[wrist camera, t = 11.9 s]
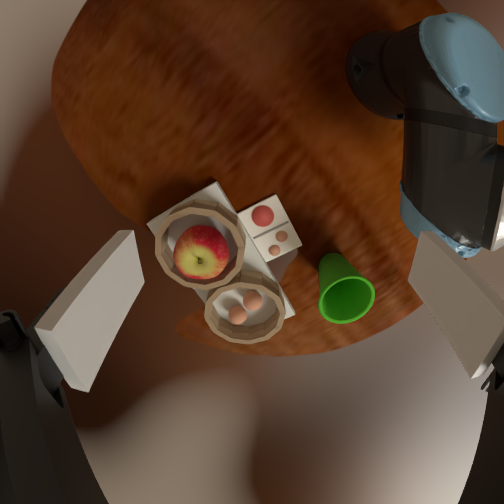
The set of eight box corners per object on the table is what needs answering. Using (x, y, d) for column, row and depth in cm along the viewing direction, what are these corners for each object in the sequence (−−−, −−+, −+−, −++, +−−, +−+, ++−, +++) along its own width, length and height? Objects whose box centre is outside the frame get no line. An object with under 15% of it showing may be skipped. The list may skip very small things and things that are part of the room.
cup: (303, 284, 52) (313, 323, 42) (312, 239, 48) (325, 274, 38) (348, 286, 52) (365, 324, 42) (360, 243, 48) (382, 277, 38)
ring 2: (238, 255, 48) (237, 267, 44) (298, 298, 52) (301, 311, 48) (194, 304, 53) (190, 318, 50) (250, 339, 57) (250, 353, 53)
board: (148, 221, 46) (146, 224, 45) (216, 180, 43) (215, 182, 42) (233, 334, 58) (233, 338, 57) (294, 310, 55) (295, 314, 54)
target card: (237, 213, 46) (237, 214, 45) (275, 193, 44) (276, 194, 44) (265, 261, 50) (265, 262, 49) (302, 244, 48) (302, 245, 48)
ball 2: (251, 283, 51) (251, 295, 47) (266, 294, 52) (266, 305, 48) (239, 295, 52) (238, 307, 49) (254, 305, 53) (253, 317, 50)
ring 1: (192, 182, 42) (186, 189, 39) (262, 235, 46) (262, 246, 43) (148, 245, 47) (140, 256, 44) (212, 289, 51) (209, 302, 48)
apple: (241, 235, 46) (237, 267, 37) (212, 270, 49) (203, 306, 41) (199, 206, 44) (185, 231, 35) (173, 244, 47) (155, 275, 38)
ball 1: (236, 298, 52) (235, 310, 49) (251, 308, 53) (250, 320, 50) (225, 309, 53) (223, 321, 50) (239, 318, 54) (238, 331, 51)
